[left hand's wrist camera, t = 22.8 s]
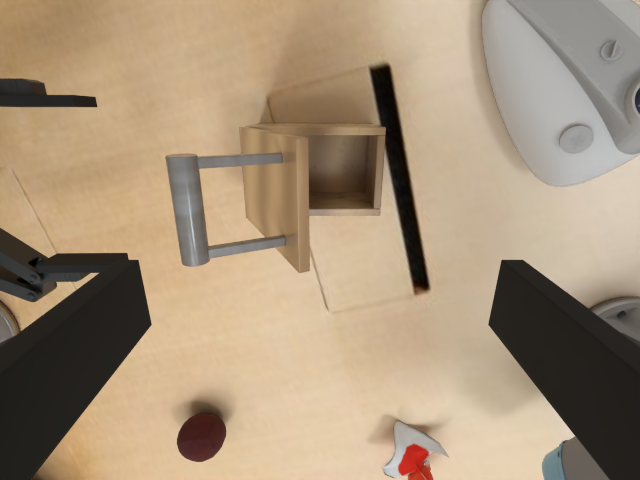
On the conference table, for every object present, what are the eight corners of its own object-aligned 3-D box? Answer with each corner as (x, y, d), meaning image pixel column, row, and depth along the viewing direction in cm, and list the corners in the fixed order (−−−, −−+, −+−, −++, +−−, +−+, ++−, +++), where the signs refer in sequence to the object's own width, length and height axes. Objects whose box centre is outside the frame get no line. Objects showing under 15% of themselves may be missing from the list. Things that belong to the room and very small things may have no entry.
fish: (379, 506, 62) (407, 545, 53) (363, 417, 63) (388, 440, 54) (430, 485, 65) (465, 519, 56) (414, 401, 67) (446, 420, 57)
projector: (686, -21, 38) (892, -95, 24) (609, 184, 46) (731, 216, 32) (488, -39, 37) (585, -124, 24) (445, 172, 45) (500, 200, 32)
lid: (308, 137, 22) (165, 142, 18) (309, 271, 25) (188, 296, 22) (247, 127, 35) (156, 128, 31) (253, 216, 38) (171, 226, 35)
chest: (372, 123, 43) (386, 127, 35) (369, 196, 47) (380, 215, 38) (259, 123, 43) (244, 127, 35) (263, 196, 47) (250, 215, 38)
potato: (180, 407, 60) (163, 444, 53) (223, 400, 59) (211, 436, 53) (195, 437, 62) (180, 476, 56) (236, 430, 62) (225, 469, 55)
